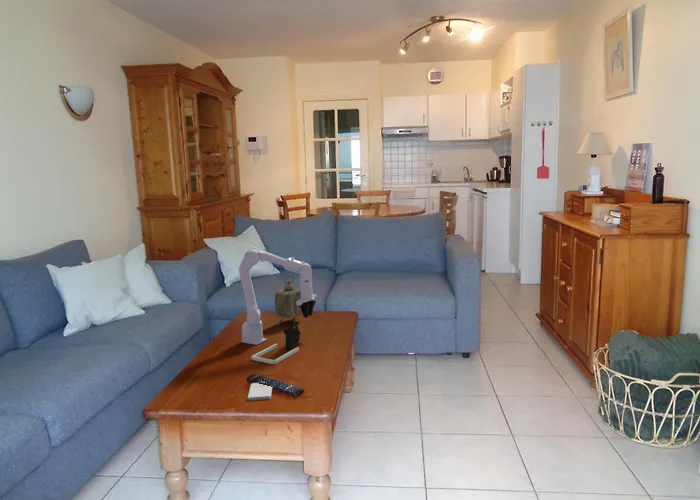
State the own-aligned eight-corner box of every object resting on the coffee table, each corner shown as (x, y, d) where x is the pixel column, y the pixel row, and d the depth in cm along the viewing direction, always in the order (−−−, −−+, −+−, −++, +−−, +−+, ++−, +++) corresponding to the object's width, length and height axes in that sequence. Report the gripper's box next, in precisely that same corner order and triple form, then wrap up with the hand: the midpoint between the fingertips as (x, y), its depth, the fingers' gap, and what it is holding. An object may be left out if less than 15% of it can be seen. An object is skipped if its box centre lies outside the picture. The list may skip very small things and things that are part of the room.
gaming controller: (295, 351, 232) (294, 329, 230) (282, 350, 233) (281, 329, 231) (304, 340, 245) (303, 320, 244) (292, 340, 247) (290, 319, 245)
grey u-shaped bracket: (251, 359, 223) (251, 356, 223) (276, 346, 238) (276, 343, 238) (274, 364, 217) (274, 361, 217) (299, 350, 232) (299, 347, 232)
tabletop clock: (294, 317, 283) (292, 272, 279) (307, 319, 278) (304, 274, 274) (275, 324, 272) (273, 277, 268) (288, 327, 266) (286, 279, 262)
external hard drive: (247, 401, 185) (251, 387, 197) (270, 400, 185) (272, 385, 198) (247, 397, 184) (250, 383, 197) (270, 395, 185) (272, 381, 197)
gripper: (304, 293, 238) (306, 321, 240) (321, 286, 250) (322, 313, 253) (292, 291, 241) (293, 319, 244) (309, 284, 254) (310, 311, 256)
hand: (307, 316), depth 248 cm, fingers open, 3 cm apart
